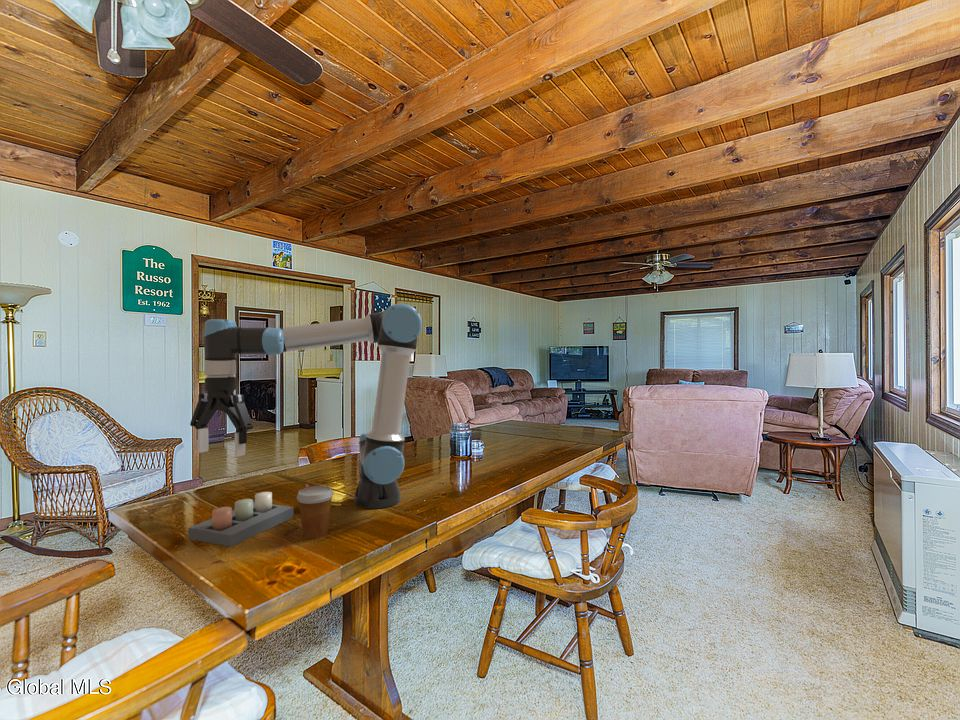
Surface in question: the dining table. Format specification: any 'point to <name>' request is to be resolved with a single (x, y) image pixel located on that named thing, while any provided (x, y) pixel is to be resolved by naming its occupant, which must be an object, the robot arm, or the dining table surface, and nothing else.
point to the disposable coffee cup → (315, 510)
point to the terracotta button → (221, 518)
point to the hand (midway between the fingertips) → (221, 454)
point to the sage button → (243, 509)
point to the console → (241, 526)
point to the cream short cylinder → (263, 502)
